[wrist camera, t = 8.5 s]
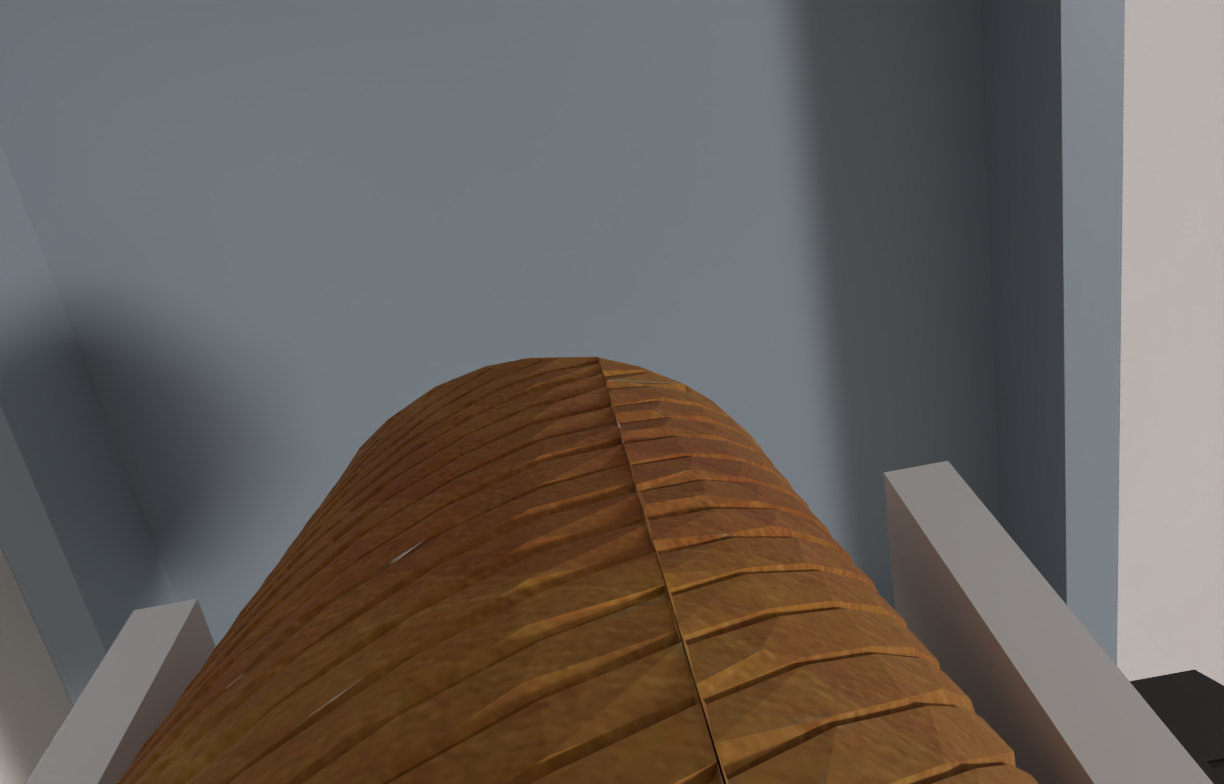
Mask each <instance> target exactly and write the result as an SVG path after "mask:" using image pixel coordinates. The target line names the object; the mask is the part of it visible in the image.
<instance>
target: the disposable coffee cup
mask: <svg viewBox="0 0 1224 784" xmlns="http://www.w3.org/2000/svg"><path fill="white" fill-rule="evenodd" d="M117 784H1039V783H1038V782H1037V780H1036V779H1035V778H1034V777H1033V776H1032V775H1031V774H1029V773H1027V772H1025V771H1023V770H1021V769H1019V768H1017V767H1016V765H1015V757H1014V751H1013V750H1012V749H1011V748H1010V747H1009V746H1008V745H1007V743H1006V742H1005V741H1004V740H1003V739H1002V738H1001V737H1000V736H999V735H998V734H997V733H996V732H995V731H994V730H993V729H992V728H991V727H990V726H989V725H988V723H987V722H986V721H985V720H984V719H983V718H981V717H980V716H978V715H976V714H975V711H974V708H973V705H972V702H971V699H970V698H969V697H968V696H967V695H966V694H965V693H964V692H963V691H962V690H961V689H960V688H959V687H958V686H957V685H956V684H955V683H954V681H953V680H952V679H951V678H950V677H949V676H948V675H947V674H946V673H945V672H943V671H942V670H941V669H940V666H939V662H938V660H937V659H936V658H935V657H934V656H933V654H932V653H931V652H930V651H929V650H928V649H927V648H926V647H925V646H924V645H923V644H922V642H921V641H920V640H919V639H918V638H917V637H916V636H915V635H914V634H913V633H912V632H911V631H909V630H908V628H907V625H906V622H905V620H904V619H903V618H902V617H901V616H900V615H899V614H898V613H897V612H896V611H895V610H894V609H893V608H892V607H891V606H890V605H889V604H888V603H887V602H886V600H885V599H884V598H883V597H881V596H880V595H879V594H878V592H877V590H876V588H875V586H874V584H873V582H872V580H871V579H870V578H869V577H868V576H867V575H866V574H864V573H863V572H862V571H861V570H860V569H859V568H858V567H857V566H856V565H855V564H854V563H853V561H852V558H851V556H850V555H849V554H848V553H847V552H846V551H845V550H844V549H843V548H842V547H841V546H840V544H839V543H838V542H837V541H836V540H835V539H834V538H833V537H832V536H831V534H830V532H829V530H828V528H827V527H826V526H825V525H824V524H823V523H822V522H821V521H820V520H819V519H818V518H817V517H816V516H815V515H814V514H813V513H812V512H811V511H810V509H809V507H808V505H807V503H806V502H805V501H804V500H803V499H802V498H801V497H800V496H799V495H798V494H797V493H796V492H795V491H794V490H793V489H792V487H791V485H790V483H789V482H788V481H787V480H786V479H785V477H784V476H783V475H782V474H781V473H780V472H779V471H778V470H777V469H776V468H775V466H774V465H773V463H772V462H771V460H770V459H769V458H768V457H767V456H766V455H765V453H764V452H763V451H762V449H761V447H760V446H759V445H758V443H757V442H756V441H755V440H754V439H753V437H752V436H751V435H750V434H749V433H748V432H747V431H746V430H745V429H744V428H742V427H741V426H740V425H739V424H738V423H737V422H736V421H735V420H733V419H732V418H731V417H730V416H729V415H728V414H727V413H725V412H724V411H723V410H722V409H721V408H720V407H719V406H718V405H716V404H715V403H714V402H713V401H711V400H710V399H708V398H707V397H705V396H703V395H702V394H700V393H698V392H697V391H695V390H693V389H692V388H690V387H689V386H687V385H685V384H683V383H681V382H678V381H675V380H673V379H670V378H668V377H665V376H663V375H660V374H657V373H655V372H652V371H650V370H647V369H644V368H642V367H639V366H635V365H630V364H626V363H622V362H617V361H613V360H608V359H604V358H599V357H550V358H525V359H520V360H515V361H510V362H505V363H500V364H495V365H490V366H485V367H483V368H480V369H478V370H475V371H473V372H470V373H468V374H465V375H462V376H460V377H457V378H455V379H452V380H450V381H447V382H445V383H442V384H440V385H437V386H435V387H434V388H432V389H431V390H429V391H428V392H427V393H425V394H424V395H422V396H421V397H419V398H418V399H416V400H415V401H414V402H412V403H411V404H409V405H408V406H406V407H405V408H404V409H402V410H401V411H399V412H398V413H396V414H395V415H393V416H392V417H391V418H389V419H388V420H387V421H386V422H385V423H384V424H383V425H382V426H381V427H380V428H379V429H378V430H377V431H376V432H375V433H374V434H373V435H372V436H371V437H370V438H369V439H368V440H367V441H366V442H365V443H364V444H363V445H362V446H361V447H360V448H359V450H358V451H357V453H356V454H355V456H354V457H353V459H352V461H351V462H350V464H349V465H348V467H347V468H346V470H345V471H344V473H343V474H342V476H341V477H340V479H339V480H338V482H337V483H336V484H335V486H334V487H333V488H332V490H331V491H330V492H329V493H328V495H327V496H326V498H325V499H324V501H323V502H322V504H321V505H320V507H319V508H318V509H317V510H316V511H315V513H314V514H313V515H312V516H311V518H310V519H309V520H308V521H307V523H306V525H305V526H304V528H303V529H302V531H301V532H300V534H299V535H298V536H297V538H296V539H295V540H294V541H293V543H292V544H291V545H290V546H289V548H288V549H287V551H286V552H285V554H284V555H283V557H282V558H281V560H280V561H279V563H278V564H277V565H276V567H275V568H274V569H273V570H272V572H271V573H270V574H269V575H268V577H267V578H266V579H265V581H264V582H263V584H262V586H261V587H260V589H259V590H258V591H257V592H256V594H255V595H254V596H253V597H252V598H251V600H250V601H249V602H248V603H247V604H246V606H245V607H244V608H243V609H242V611H241V612H240V614H239V615H238V617H237V618H236V620H235V621H234V623H233V624H232V626H231V627H230V629H229V630H228V632H227V633H226V635H225V636H224V637H223V639H222V640H221V641H220V642H219V644H218V645H217V646H216V648H215V649H214V651H213V652H212V654H211V655H210V657H209V658H208V660H207V661H206V663H205V664H204V666H203V667H202V669H201V670H200V671H199V673H198V674H197V675H196V676H195V678H194V679H193V680H192V681H191V683H190V684H189V685H188V687H187V688H186V690H185V691H184V693H183V694H182V696H181V697H180V699H179V700H178V702H177V703H176V705H175V706H174V708H173V709H172V710H171V712H170V713H169V714H168V715H167V717H166V718H165V719H164V720H163V722H162V723H161V724H160V725H159V727H158V728H157V729H156V730H155V731H154V733H153V734H152V735H151V736H150V738H149V739H148V740H147V741H146V743H145V744H144V746H143V747H142V749H141V750H140V752H139V753H138V755H137V756H136V758H135V759H134V761H133V762H132V764H131V765H130V767H129V768H128V770H127V772H126V773H125V774H124V776H123V777H122V778H121V779H120V780H119V782H118V783H117Z"/></svg>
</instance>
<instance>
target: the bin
mask: <svg viewBox="0 0 1224 784" xmlns="http://www.w3.org/2000/svg"><path fill="white" fill-rule="evenodd" d="M1124 8H1125V0H0V546H1V548H2V550H3V553H4V555H5V557H6V559H7V561H8V564H9V566H10V568H11V570H12V573H13V575H14V577H15V579H16V581H17V584H18V586H19V588H20V590H21V592H22V595H23V597H24V599H25V601H26V603H27V606H28V608H29V610H30V612H31V614H32V617H33V619H34V621H35V623H36V625H37V628H38V630H39V632H40V634H41V637H42V639H43V641H44V643H45V645H46V648H47V650H48V652H49V654H50V656H51V659H52V661H53V663H54V665H55V667H56V670H57V672H58V674H59V676H60V678H61V681H62V683H63V685H64V687H65V689H66V692H67V694H68V696H69V698H70V700H71V703H72V705H73V706H74V705H75V703H76V701H77V700H78V698H79V697H80V695H81V694H82V692H83V690H84V689H85V687H86V686H87V684H88V682H89V681H90V679H91V678H92V676H93V674H94V673H95V671H96V670H97V668H98V666H99V665H100V663H101V662H102V660H103V659H104V657H105V655H106V654H107V652H108V651H109V649H110V647H111V646H112V644H113V643H114V641H115V639H116V638H117V636H118V635H119V633H120V631H121V630H122V628H123V627H124V625H125V624H126V622H127V620H128V619H129V617H130V616H131V614H132V612H133V611H134V610H138V609H144V608H149V607H155V606H160V605H165V604H171V603H176V602H182V601H187V600H193V599H198V601H199V604H200V606H201V609H202V612H203V614H204V617H205V620H206V622H207V625H208V628H209V630H210V633H211V636H212V638H213V641H214V644H215V646H217V645H218V644H219V642H220V641H221V640H222V639H223V637H224V636H225V635H226V633H227V632H228V630H229V629H230V627H231V626H232V624H233V623H234V621H235V620H236V618H237V617H238V615H239V614H240V612H241V611H242V609H243V608H244V607H245V606H246V604H247V603H248V602H249V601H250V600H251V598H252V597H253V596H254V595H255V594H256V592H257V591H258V590H259V589H260V587H261V586H262V584H263V582H264V581H265V579H266V578H267V577H268V575H269V574H270V573H271V572H272V570H273V569H274V568H275V567H276V565H277V564H278V563H279V561H280V560H281V558H282V557H283V555H284V554H285V552H286V551H287V549H288V548H289V546H290V545H291V544H292V543H293V541H294V540H295V539H296V538H297V536H298V535H299V534H300V532H301V531H302V529H303V528H304V526H305V525H306V523H307V521H308V520H309V519H310V518H311V516H312V515H313V514H314V513H315V511H316V510H317V509H318V508H319V507H320V505H321V504H322V502H323V501H324V499H325V498H326V496H327V495H328V493H329V492H330V491H331V490H332V488H333V487H334V486H335V484H336V483H337V482H338V480H339V479H340V477H341V476H342V474H343V473H344V471H345V470H346V468H347V467H348V465H349V464H350V462H351V461H352V459H353V457H354V456H355V454H356V453H357V451H358V450H359V448H360V447H361V446H362V445H363V444H364V443H365V442H366V441H367V440H368V439H369V438H370V437H371V436H372V435H373V434H374V433H375V432H376V431H377V430H378V429H379V428H380V427H381V426H382V425H383V424H384V423H385V422H386V421H387V420H388V419H389V418H391V417H392V416H393V415H395V414H396V413H398V412H399V411H401V410H402V409H404V408H405V407H406V406H408V405H409V404H411V403H412V402H414V401H415V400H416V399H418V398H419V397H421V396H422V395H424V394H425V393H427V392H428V391H429V390H431V389H432V388H434V387H435V386H437V385H440V384H442V383H445V382H447V381H450V380H452V379H455V378H457V377H460V376H462V375H465V374H468V373H470V372H473V371H475V370H478V369H480V368H483V367H485V366H490V365H495V364H500V363H505V362H510V361H515V360H520V359H525V358H550V357H599V358H604V359H608V360H613V361H617V362H622V363H626V364H630V365H635V366H639V367H642V368H644V369H647V370H650V371H652V372H655V373H657V374H660V375H663V376H665V377H668V378H670V379H673V380H675V381H678V382H681V383H683V384H685V385H687V386H689V387H690V388H692V389H693V390H695V391H697V392H698V393H700V394H702V395H703V396H705V397H707V398H708V399H710V400H711V401H713V402H714V403H715V404H716V405H718V406H719V407H720V408H721V409H722V410H723V411H724V412H725V413H727V414H728V415H729V416H730V417H731V418H732V419H733V420H735V421H736V422H737V423H738V424H739V425H740V426H741V427H742V428H744V429H745V430H746V431H747V432H748V433H749V434H750V435H751V436H752V437H753V439H754V440H755V441H756V442H757V443H758V445H759V446H760V447H761V449H762V451H763V452H764V453H765V455H766V456H767V457H768V458H769V459H770V460H771V462H772V463H773V465H774V466H775V468H776V469H777V470H778V471H779V472H780V473H781V474H782V475H783V476H784V477H785V479H786V480H787V481H788V482H789V483H790V485H791V487H792V489H793V490H794V491H795V492H796V493H797V494H798V495H799V496H800V497H801V498H802V499H803V500H804V501H805V502H806V503H807V505H808V507H809V509H810V511H811V512H812V513H813V514H814V515H815V516H816V517H817V518H818V519H819V520H820V521H821V522H822V523H823V524H824V525H825V526H826V527H827V528H828V530H829V532H830V534H831V536H832V537H833V538H834V539H835V540H836V541H837V542H838V543H839V544H840V546H841V547H842V548H843V549H844V550H845V551H846V552H847V553H848V554H849V555H850V556H851V558H852V561H853V563H854V564H855V565H856V566H857V567H858V568H859V569H860V570H861V571H862V572H863V573H864V574H866V575H867V576H868V577H869V578H870V579H871V580H872V582H873V584H874V586H875V588H876V590H877V592H878V594H879V595H880V596H881V597H883V598H884V599H885V600H886V602H887V603H888V604H889V605H890V606H891V607H892V608H893V609H894V610H895V601H894V589H893V577H892V565H891V554H890V542H889V530H888V518H887V506H886V495H885V483H884V472H889V471H895V470H900V469H906V468H911V467H917V466H922V465H928V464H933V463H938V462H944V461H948V462H949V463H950V464H951V465H952V466H953V468H954V469H955V470H956V471H957V472H958V474H959V475H960V476H961V477H962V479H963V480H964V481H965V482H966V483H967V485H968V486H969V487H970V488H971V489H972V491H973V492H974V493H975V494H976V496H977V497H978V498H979V499H980V500H981V502H982V503H983V504H984V505H985V506H986V508H987V509H988V510H989V511H990V513H991V514H992V515H993V516H994V517H995V519H996V520H997V521H998V522H999V524H1000V525H1001V526H1002V527H1003V528H1004V530H1005V531H1006V532H1007V533H1008V534H1009V536H1010V537H1011V538H1012V539H1013V541H1014V542H1015V543H1016V544H1017V545H1018V547H1019V548H1020V549H1021V550H1022V551H1023V553H1024V554H1025V555H1026V556H1027V558H1028V559H1029V560H1030V561H1031V562H1032V564H1033V565H1034V566H1035V567H1036V568H1037V570H1038V571H1039V572H1040V573H1041V575H1042V576H1043V577H1044V578H1045V579H1046V581H1047V582H1048V583H1049V584H1050V585H1051V587H1052V588H1053V589H1054V590H1055V592H1056V593H1057V594H1058V595H1059V596H1060V598H1061V599H1062V600H1063V601H1064V603H1065V604H1066V605H1067V606H1068V607H1069V609H1070V610H1071V611H1072V612H1073V613H1074V615H1075V616H1076V617H1077V618H1078V620H1079V621H1080V622H1081V623H1082V624H1083V626H1084V627H1085V628H1086V629H1087V630H1088V632H1089V633H1090V634H1091V635H1092V637H1093V638H1094V639H1095V640H1096V641H1097V643H1098V644H1099V645H1100V646H1101V647H1102V649H1103V650H1104V651H1105V652H1106V654H1107V655H1108V656H1109V657H1110V658H1111V660H1112V661H1113V662H1114V663H1115V665H1116V666H1117V601H1118V516H1119V431H1120V347H1121V262H1122V177H1123V93H1124Z"/></svg>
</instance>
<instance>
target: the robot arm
mask: <svg viewBox="0 0 1224 784" xmlns="http://www.w3.org/2000/svg"><path fill="white" fill-rule="evenodd" d="M884 483H885V495H886V506H887V518H888V530H889V542H890V554H891V565H892V577H893V589H894V601H895V611H896V612H897V613H898V614H899V615H900V616H901V617H902V618H903V619H904V620H905V622H906V625H907V628H908V630H909V631H911V632H912V633H913V634H914V635H915V636H916V637H917V638H918V639H919V640H920V641H921V642H922V644H923V645H924V646H925V647H926V648H927V649H928V650H929V651H930V652H931V653H932V654H933V656H934V657H935V658H936V659H937V660H938V662H939V666H940V669H941V670H942V671H943V672H945V673H946V674H947V675H948V676H949V677H950V678H951V679H952V680H953V681H954V683H955V684H956V685H957V686H958V687H959V688H960V689H961V690H962V691H963V692H964V693H965V694H966V695H967V696H968V697H969V698H970V699H971V702H972V705H973V708H974V711H975V714H976V715H978V716H980V717H981V718H983V719H984V720H985V721H986V722H987V723H988V725H989V726H990V727H991V728H992V729H993V730H994V731H995V732H996V733H997V734H998V735H999V736H1000V737H1001V738H1002V739H1003V740H1004V741H1005V742H1006V743H1007V745H1008V746H1009V747H1010V748H1011V749H1012V750H1013V751H1014V757H1015V765H1016V767H1017V768H1019V769H1021V770H1023V771H1025V772H1027V773H1029V774H1031V775H1032V776H1033V777H1034V778H1035V779H1036V780H1037V782H1038V783H1039V784H1224V686H1223V685H1221V684H1219V683H1218V682H1216V681H1214V680H1212V679H1210V678H1209V677H1207V676H1205V675H1203V674H1201V673H1200V672H1198V671H1196V670H1190V671H1185V672H1179V673H1174V674H1168V675H1163V676H1157V677H1152V678H1146V679H1141V680H1135V681H1130V682H1129V680H1128V679H1127V678H1126V677H1125V675H1124V674H1123V673H1122V672H1121V671H1120V669H1119V668H1118V667H1117V666H1116V665H1115V663H1114V662H1113V661H1112V660H1111V658H1110V657H1109V656H1108V655H1107V654H1106V652H1105V651H1104V650H1103V649H1102V647H1101V646H1100V645H1099V644H1098V643H1097V641H1096V640H1095V639H1094V638H1093V637H1092V635H1091V634H1090V633H1089V632H1088V630H1087V629H1086V628H1085V627H1084V626H1083V624H1082V623H1081V622H1080V621H1079V620H1078V618H1077V617H1076V616H1075V615H1074V613H1073V612H1072V611H1071V610H1070V609H1069V607H1068V606H1067V605H1066V604H1065V603H1064V601H1063V600H1062V599H1061V598H1060V596H1059V595H1058V594H1057V593H1056V592H1055V590H1054V589H1053V588H1052V587H1051V585H1050V584H1049V583H1048V582H1047V581H1046V579H1045V578H1044V577H1043V576H1042V575H1041V573H1040V572H1039V571H1038V570H1037V568H1036V567H1035V566H1034V565H1033V564H1032V562H1031V561H1030V560H1029V559H1028V558H1027V556H1026V555H1025V554H1024V553H1023V551H1022V550H1021V549H1020V548H1019V547H1018V545H1017V544H1016V543H1015V542H1014V541H1013V539H1012V538H1011V537H1010V536H1009V534H1008V533H1007V532H1006V531H1005V530H1004V528H1003V527H1002V526H1001V525H1000V524H999V522H998V521H997V520H996V519H995V517H994V516H993V515H992V514H991V513H990V511H989V510H988V509H987V508H986V506H985V505H984V504H983V503H982V502H981V500H980V499H979V498H978V497H977V496H976V494H975V493H974V492H973V491H972V489H971V488H970V487H969V486H968V485H967V483H966V482H965V481H964V480H963V479H962V477H961V476H960V475H959V474H958V472H957V471H956V470H955V469H954V468H953V466H952V465H951V464H950V463H949V462H948V461H944V462H938V463H933V464H928V465H922V466H917V467H911V468H906V469H900V470H895V471H889V472H884ZM215 648H216V646H215V644H214V641H213V638H212V636H211V633H210V630H209V628H208V625H207V622H206V620H205V617H204V614H203V612H202V609H201V606H200V604H199V601H198V599H193V600H187V601H182V602H176V603H171V604H165V605H160V606H155V607H149V608H144V609H138V610H134V611H133V612H132V614H131V616H130V617H129V619H128V620H127V622H126V624H125V625H124V627H123V628H122V630H121V631H120V633H119V635H118V636H117V638H116V639H115V641H114V643H113V644H112V646H111V647H110V649H109V651H108V652H107V654H106V655H105V657H104V659H103V660H102V662H101V663H100V665H99V666H98V668H97V670H96V671H95V673H94V674H93V676H92V678H91V679H90V681H89V682H88V684H87V686H86V687H85V689H84V690H83V692H82V694H81V695H80V697H79V698H78V700H77V701H76V703H75V705H74V706H73V708H72V709H71V711H70V713H69V714H68V716H67V717H66V719H65V721H64V722H63V724H62V725H61V727H60V729H59V730H58V732H57V733H56V735H55V736H54V738H53V740H52V741H51V743H50V744H49V746H48V748H47V749H46V751H45V752H44V754H43V756H42V757H41V759H40V760H39V762H38V764H37V765H36V767H35V768H34V770H33V771H32V773H31V775H30V776H29V778H28V779H27V781H26V783H25V784H117V783H118V782H119V780H120V779H121V778H122V777H123V776H124V774H125V773H126V772H127V770H128V768H129V767H130V765H131V764H132V762H133V761H134V759H135V758H136V756H137V755H138V753H139V752H140V750H141V749H142V747H143V746H144V744H145V743H146V741H147V740H148V739H149V738H150V736H151V735H152V734H153V733H154V731H155V730H156V729H157V728H158V727H159V725H160V724H161V723H162V722H163V720H164V719H165V718H166V717H167V715H168V714H169V713H170V712H171V710H172V709H173V708H174V706H175V705H176V703H177V702H178V700H179V699H180V697H181V696H182V694H183V693H184V691H185V690H186V688H187V687H188V685H189V684H190V683H191V681H192V680H193V679H194V678H195V676H196V675H197V674H198V673H199V671H200V670H201V669H202V667H203V666H204V664H205V663H206V661H207V660H208V658H209V657H210V655H211V654H212V652H213V651H214V649H215Z"/></svg>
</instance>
